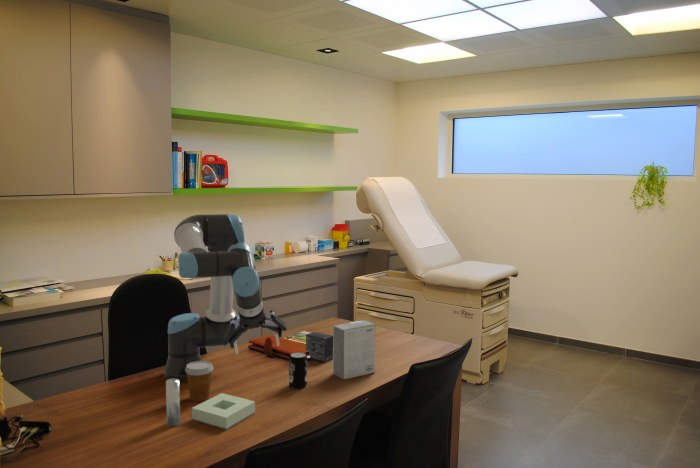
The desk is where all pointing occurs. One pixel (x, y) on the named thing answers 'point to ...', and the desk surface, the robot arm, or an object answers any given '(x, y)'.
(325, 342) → the small box
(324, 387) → the desk surface
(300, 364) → the beverage can
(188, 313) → the robot arm
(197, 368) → the disposable coffee cup
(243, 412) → the socket block
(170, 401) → the pin
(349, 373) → the hard drive box
